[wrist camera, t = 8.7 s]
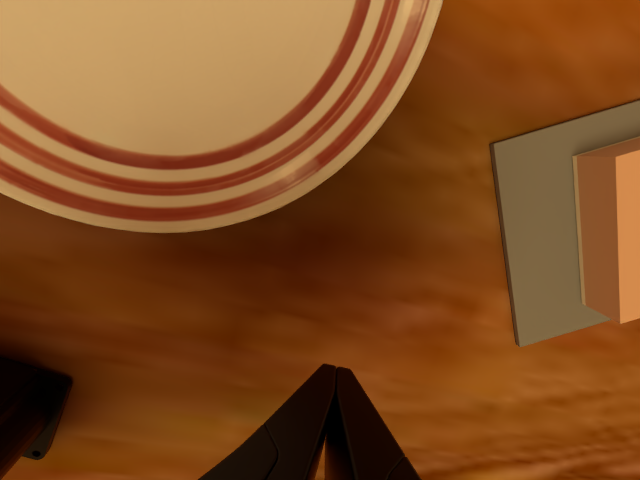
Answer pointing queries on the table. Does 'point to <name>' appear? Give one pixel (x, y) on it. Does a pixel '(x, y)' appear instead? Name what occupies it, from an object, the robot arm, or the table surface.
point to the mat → (549, 219)
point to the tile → (609, 228)
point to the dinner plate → (194, 102)
